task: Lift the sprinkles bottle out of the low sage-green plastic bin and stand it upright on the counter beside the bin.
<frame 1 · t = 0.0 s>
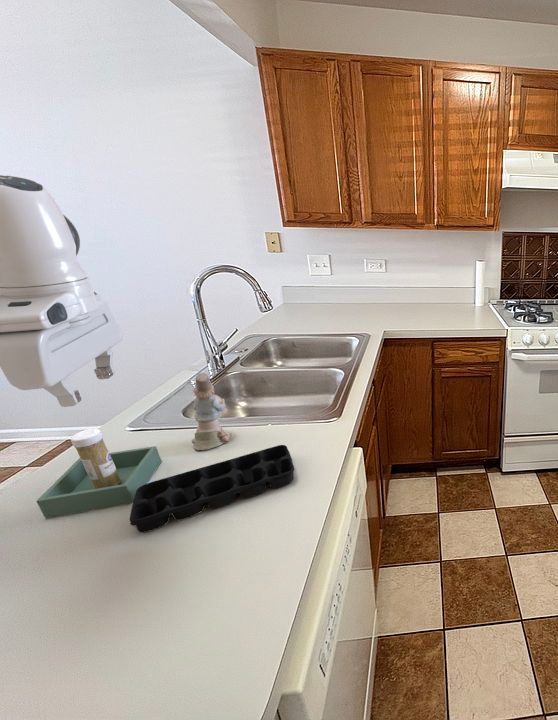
hand: (90, 389, 61), 32 cm above the table, tool pointing down, fingers open, 8 cm apart
egg carton: (222, 492, 86), on the table
sprinkles bottle: (108, 486, 87), resting on bin
figurine: (214, 441, 103), on the table
bin: (109, 487, 87), on the table
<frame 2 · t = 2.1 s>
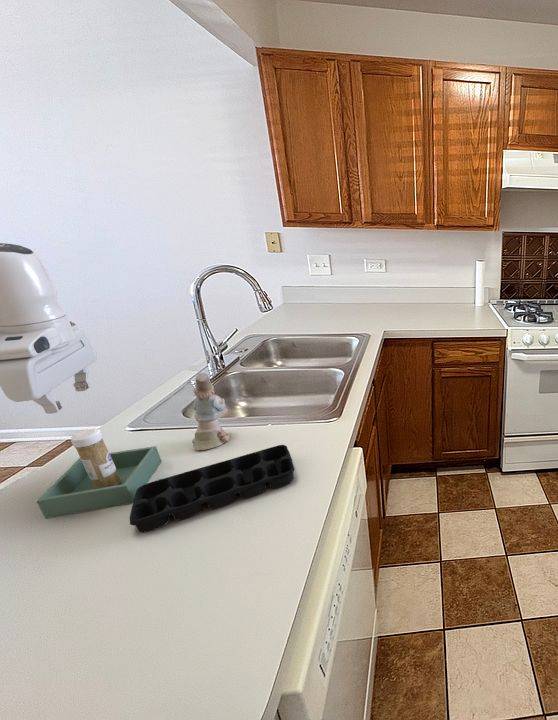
hand: (70, 400, 78), 22 cm above the table, tool pointing down, fingers open, 8 cm apart
nothing on the table moved.
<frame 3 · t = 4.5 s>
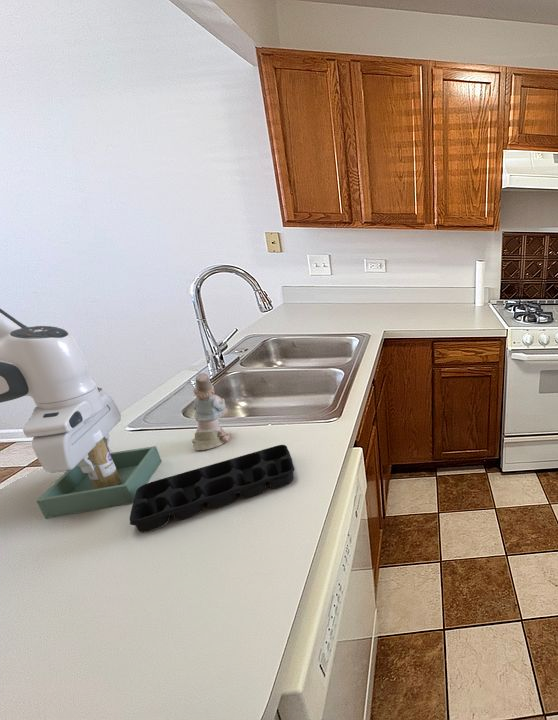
hand: (97, 462, 84), 7 cm above the table, tool pointing down, fingers closed on sprinkles bottle, 4 cm apart
sprinkles bottle: (108, 486, 87), resting on bin, touching gripper
everything else where it was.
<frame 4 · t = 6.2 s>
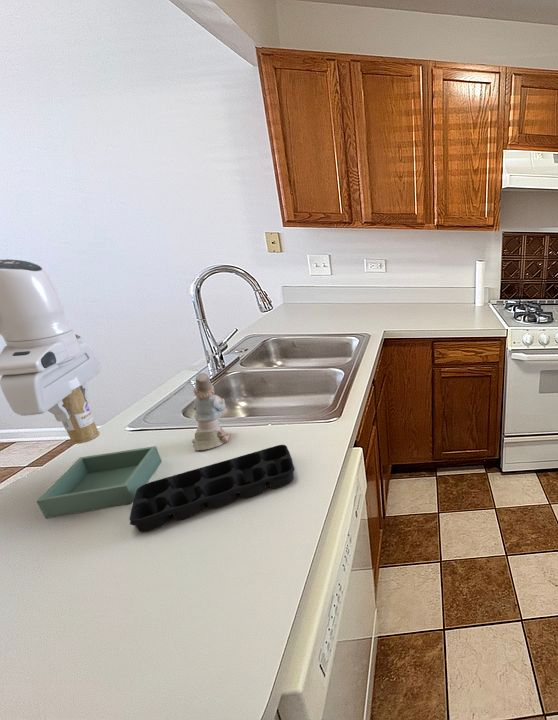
hand: (74, 412, 79), 19 cm above the table, tool pointing down, fingers closed on sprinkles bottle, 4 cm apart
sprinkles bottle: (86, 439, 82), point 12 cm above the table, touching gripper
everything else where it was.
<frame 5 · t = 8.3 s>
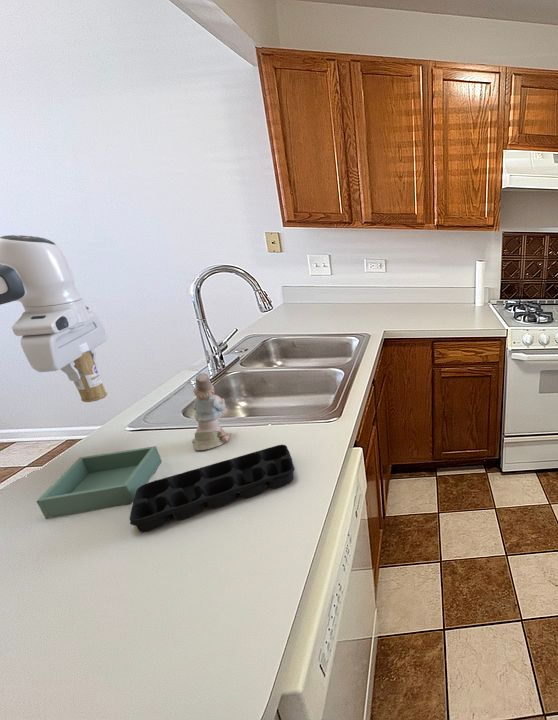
hand: (84, 374, 89), 22 cm above the table, tool pointing down, fingers closed on sprinkles bottle, 4 cm apart
sprinkles bottle: (95, 399, 92), point 16 cm above the table, touching gripper
everything else where it was.
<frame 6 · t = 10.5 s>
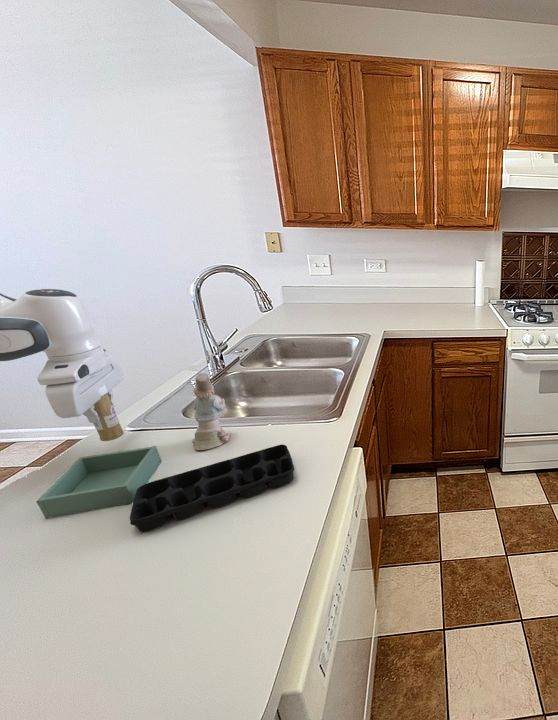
hand: (102, 414, 94), 11 cm above the table, tool pointing down, fingers closed on sprinkles bottle, 4 cm apart
sprinkles bottle: (112, 437, 96), point 5 cm above the table, touching gripper
everything else where it was.
when the fingers open (6 cm above the table, at t = 12.2 s): sprinkles bottle stays where it is, on the table.
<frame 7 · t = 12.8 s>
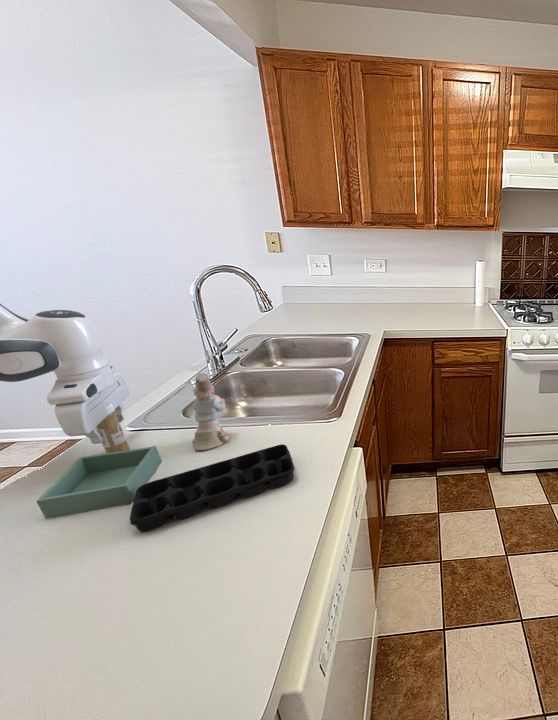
hand: (109, 431, 96), 7 cm above the table, tool pointing down, fingers open, 8 cm apart
sprinkles bottle: (119, 454, 98), on the table
everything else where it was.
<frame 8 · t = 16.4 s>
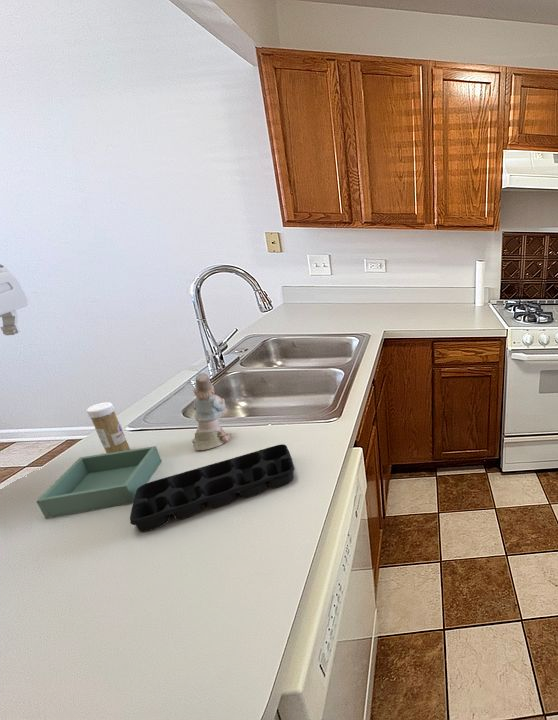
nothing on the table moved.
at the end: sprinkles bottle inside the target area (0.6 cm from its centre), on the table; sprinkles bottle tilted 0°; sprinkles bottle touching table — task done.
